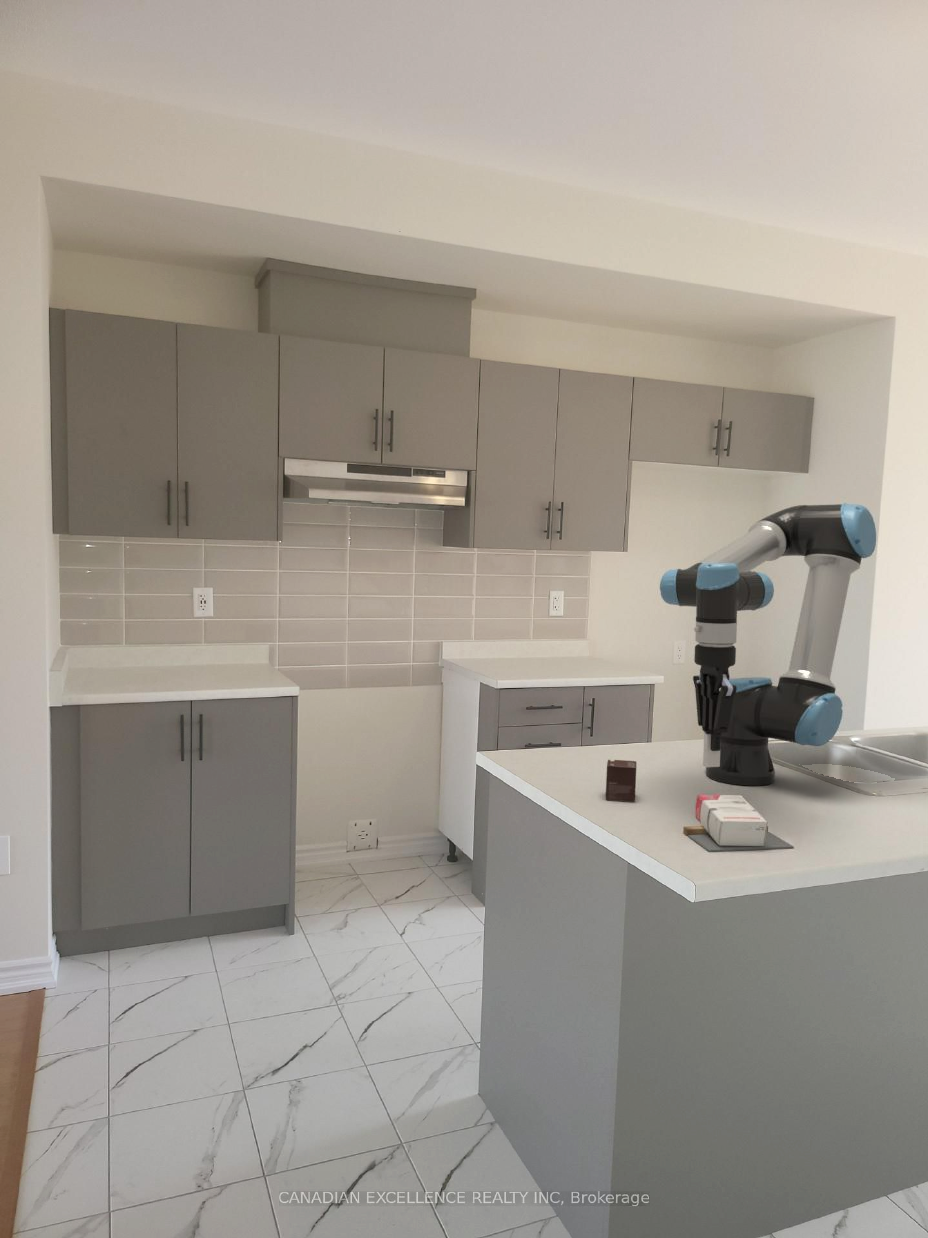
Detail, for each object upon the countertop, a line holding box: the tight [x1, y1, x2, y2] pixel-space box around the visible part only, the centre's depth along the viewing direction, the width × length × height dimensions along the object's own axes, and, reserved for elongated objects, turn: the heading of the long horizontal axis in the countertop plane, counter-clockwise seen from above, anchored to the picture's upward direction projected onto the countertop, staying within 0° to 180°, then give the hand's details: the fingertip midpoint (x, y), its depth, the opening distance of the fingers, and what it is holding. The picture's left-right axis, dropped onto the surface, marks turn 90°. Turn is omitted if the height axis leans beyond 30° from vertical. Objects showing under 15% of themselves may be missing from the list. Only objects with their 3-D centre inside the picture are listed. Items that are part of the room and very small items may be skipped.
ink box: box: [694, 794, 768, 846], centre depth 156 cm, size 9×5×12 cm
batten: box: [682, 825, 769, 837], centre depth 159 cm, size 16×2×1 cm, turn 101°
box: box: [605, 759, 637, 803], centre depth 180 cm, size 6×6×7 cm
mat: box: [687, 831, 795, 853], centre depth 154 cm, size 16×8×1 cm, turn 101°
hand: (711, 765), depth 167 cm, fingers closed
